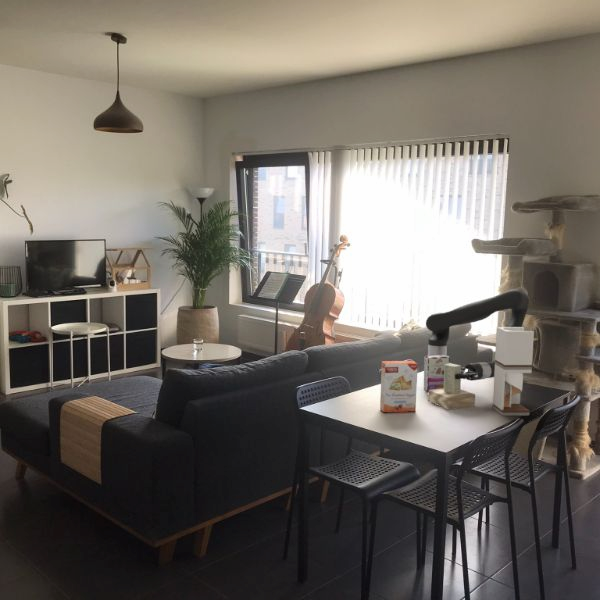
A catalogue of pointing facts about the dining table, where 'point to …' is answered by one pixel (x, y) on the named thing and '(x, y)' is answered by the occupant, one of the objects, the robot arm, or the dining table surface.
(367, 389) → the dining table surface
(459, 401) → the birch plinth
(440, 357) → the candy bar box
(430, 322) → the robot arm
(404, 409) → the cracker box
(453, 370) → the skincare box
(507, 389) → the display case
